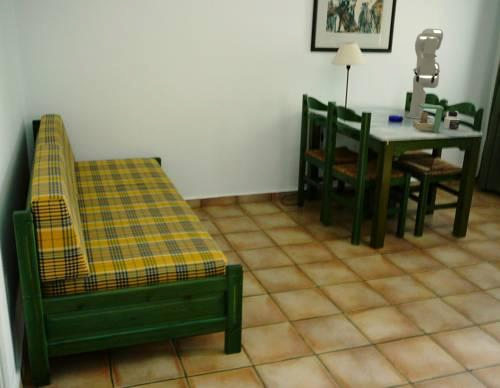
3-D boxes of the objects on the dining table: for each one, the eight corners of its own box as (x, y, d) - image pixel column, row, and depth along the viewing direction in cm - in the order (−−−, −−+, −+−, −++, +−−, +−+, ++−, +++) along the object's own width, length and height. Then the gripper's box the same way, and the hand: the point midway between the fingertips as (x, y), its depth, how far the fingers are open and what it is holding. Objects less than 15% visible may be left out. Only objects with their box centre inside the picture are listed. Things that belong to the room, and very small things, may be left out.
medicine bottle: (448, 130, 347) (451, 111, 343) (442, 127, 353) (445, 110, 350) (458, 130, 348) (461, 112, 344) (452, 127, 355) (455, 110, 351)
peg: (418, 127, 352) (421, 112, 348) (424, 127, 351) (427, 112, 348) (420, 128, 348) (422, 113, 345) (426, 128, 348) (428, 113, 344)
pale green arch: (415, 128, 345) (419, 104, 339) (435, 130, 344) (439, 105, 339) (419, 131, 336) (423, 106, 330) (439, 133, 335) (443, 107, 330)
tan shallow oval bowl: (413, 125, 354) (414, 120, 353) (428, 126, 354) (429, 121, 353) (418, 130, 341) (419, 124, 340) (433, 130, 341) (434, 125, 340)
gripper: (440, 56, 350) (436, 82, 355) (414, 55, 350) (410, 81, 356) (443, 57, 343) (439, 84, 348) (416, 56, 343) (413, 82, 349)
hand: (424, 82), depth 352 cm, fingers open, 9 cm apart
